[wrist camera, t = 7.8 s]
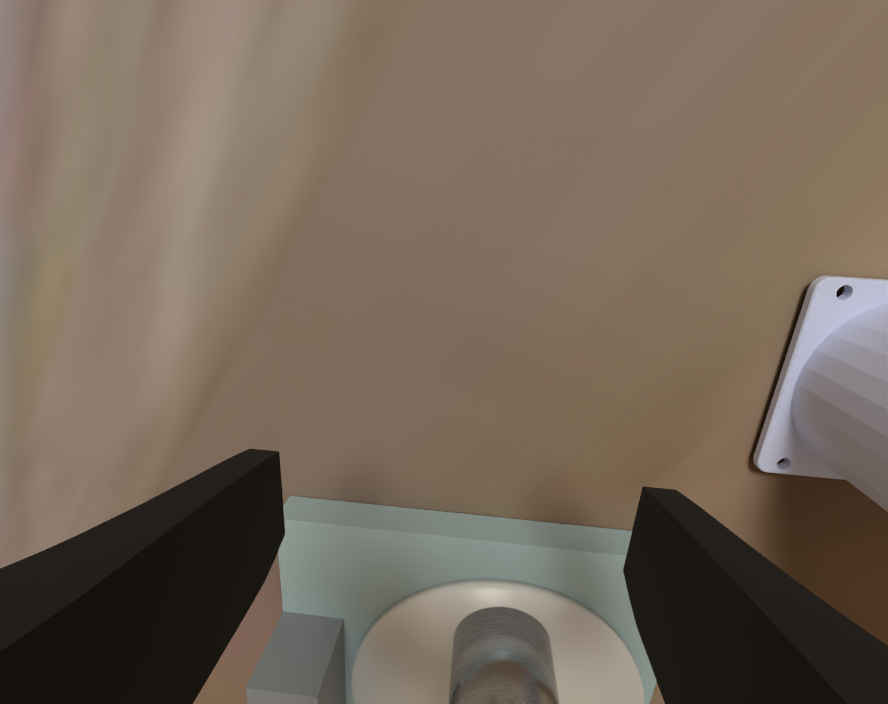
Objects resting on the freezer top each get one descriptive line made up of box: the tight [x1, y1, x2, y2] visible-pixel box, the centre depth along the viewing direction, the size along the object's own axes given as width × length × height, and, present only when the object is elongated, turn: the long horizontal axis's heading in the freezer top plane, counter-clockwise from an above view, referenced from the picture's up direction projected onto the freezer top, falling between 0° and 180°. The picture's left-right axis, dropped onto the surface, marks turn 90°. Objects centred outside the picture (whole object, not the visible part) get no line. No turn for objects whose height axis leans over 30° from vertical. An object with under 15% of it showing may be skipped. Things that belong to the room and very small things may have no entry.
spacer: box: [448, 607, 559, 704], centre depth 18 cm, size 4×4×5 cm
